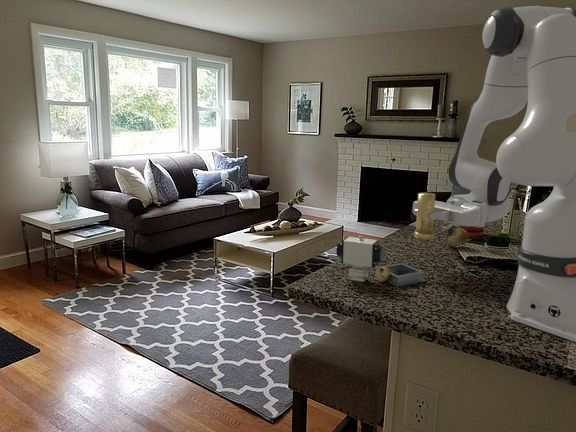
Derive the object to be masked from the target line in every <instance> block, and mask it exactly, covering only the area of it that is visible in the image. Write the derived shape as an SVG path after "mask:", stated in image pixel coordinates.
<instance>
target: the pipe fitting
mask: <svg viewBox="0 0 576 432" xmlns="http://www.w3.org/2000/svg"><path fill="white" fill-rule="evenodd" d="M417 201H418V204H417V216H416V222H415V223H416V224H415V225H416V226H415V230H414V233H413V234H414V235H413V238H415V239H416V240H422V241H423V240H424V241H431V240H434V239H435V232H434V222H435V220H432V219H429V213H430V212H434V207H435V201H436V194H435V193H432V192H419V193H417Z"/></svg>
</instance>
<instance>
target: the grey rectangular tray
mask: <svg viewBox="0 0 576 432" xmlns="http://www.w3.org/2000/svg"><path fill="white" fill-rule="evenodd" d="M398 274H400V275H398ZM425 275H426V273H425V271H423V270H421V269H417V268H416V267H413V266H410V265H408V264H406V263H403V262H398V263H393V264H388V265H380V266H375V277H376V280H377V281H378V282H380V283H383V282H387V283H389V284H391V285H393V286H394V287H402V286H403V287H404V286H407V285H412V284H418V283H425Z"/></svg>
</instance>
